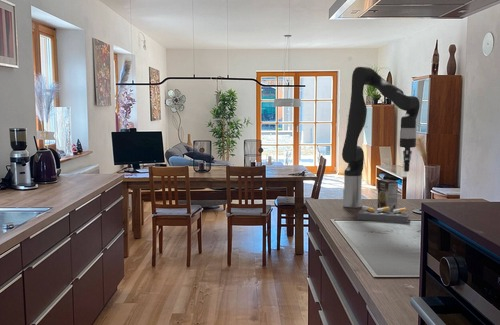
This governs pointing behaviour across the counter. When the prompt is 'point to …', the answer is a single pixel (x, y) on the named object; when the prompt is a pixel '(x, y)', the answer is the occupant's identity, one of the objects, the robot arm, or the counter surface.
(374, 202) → the counter surface
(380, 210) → the middle rocker
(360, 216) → the power strip
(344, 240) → the counter surface
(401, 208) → the right rocker
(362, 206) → the left rocker
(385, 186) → the coffee box
